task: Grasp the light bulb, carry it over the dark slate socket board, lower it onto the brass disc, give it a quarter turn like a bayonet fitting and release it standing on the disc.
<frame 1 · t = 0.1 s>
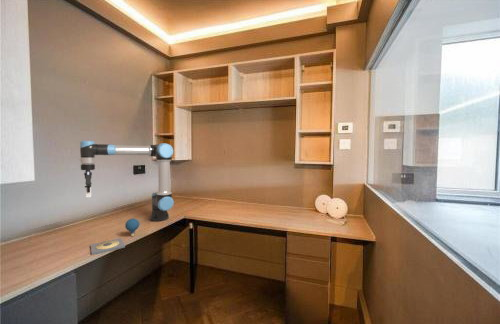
hand: (88, 195, 143), 28 cm above the worktop, fingers open, 13 cm apart
socket board: (107, 246, 129), on the worktop
light bulb: (132, 236, 146), on the worktop
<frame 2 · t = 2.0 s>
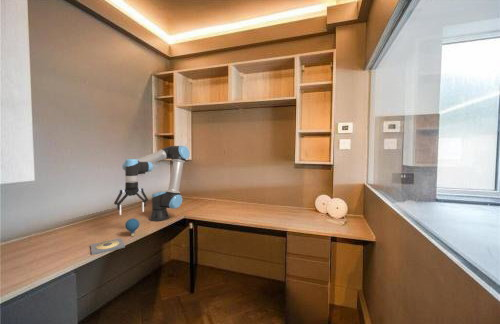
hand: (131, 213, 145), 16 cm above the worktop, fingers open, 13 cm apart
nothing on the worktop moved.
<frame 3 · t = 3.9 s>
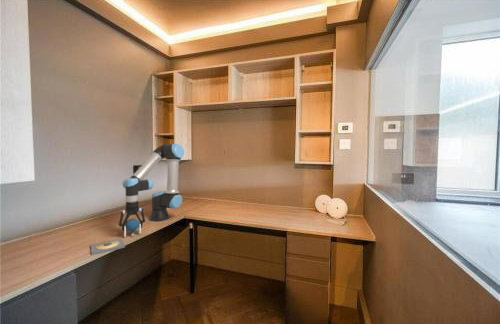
hand: (132, 234, 145), 1 cm above the worktop, fingers closed on light bulb, 8 cm apart
light bulb: (132, 236, 145), on the worktop, touching gripper
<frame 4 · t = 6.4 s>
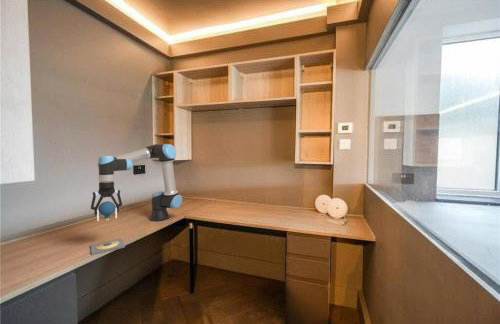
hand: (107, 219, 128), 17 cm above the worktop, fingers closed on light bulb, 8 cm apart
light bulb: (107, 221, 128), point 15 cm above the worktop, touching gripper
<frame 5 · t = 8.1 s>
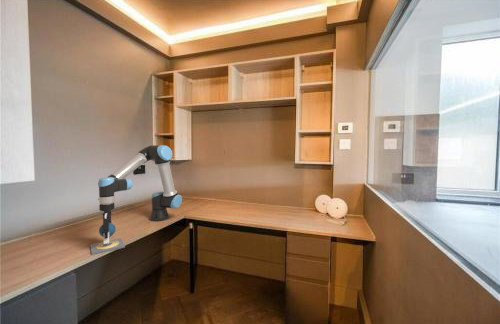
hand: (107, 240, 129), 4 cm above the worktop, fingers closed on light bulb, 8 cm apart
light bulb: (107, 242, 129), point 2 cm above the worktop, touching gripper
when the fingers open (4 cm above the worktop, at t = 9.3 s): light bulb stays where it is, resting on socket board.
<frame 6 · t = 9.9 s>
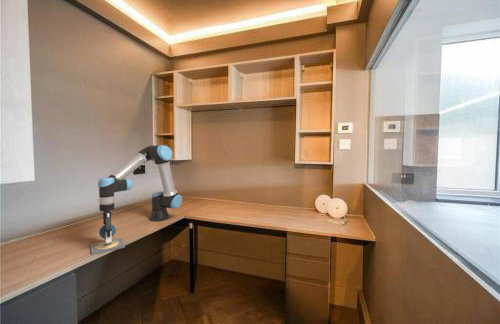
hand: (107, 238, 129), 5 cm above the worktop, fingers open, 13 cm apart
light bulb: (107, 244, 129), point 1 cm above the worktop, touching socket board
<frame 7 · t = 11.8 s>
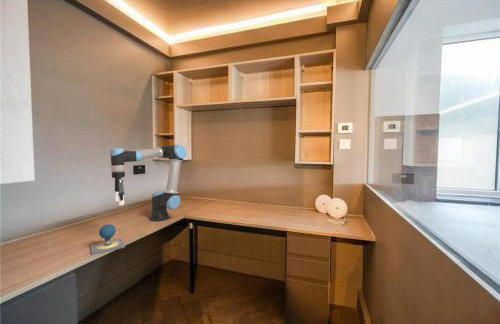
hand: (119, 203, 143), 23 cm above the worktop, fingers open, 13 cm apart
nothing on the worktop moved.
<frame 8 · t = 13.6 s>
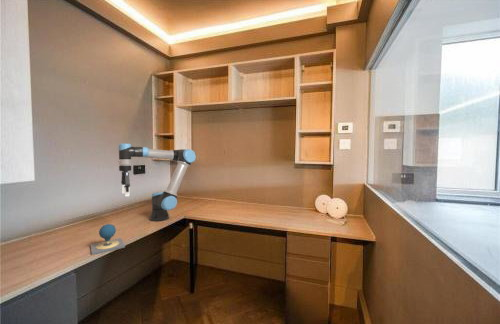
hand: (125, 194, 153), 27 cm above the worktop, fingers open, 13 cm apart
nothing on the worktop moved.
at the end: light bulb 0.1 cm from the socket board (horizontally); light bulb touching socket board; the gripper is holding nothing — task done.
